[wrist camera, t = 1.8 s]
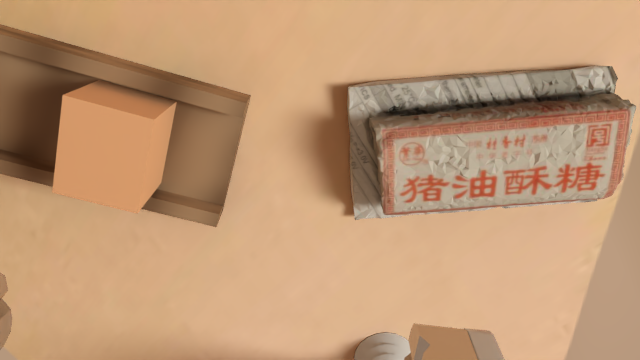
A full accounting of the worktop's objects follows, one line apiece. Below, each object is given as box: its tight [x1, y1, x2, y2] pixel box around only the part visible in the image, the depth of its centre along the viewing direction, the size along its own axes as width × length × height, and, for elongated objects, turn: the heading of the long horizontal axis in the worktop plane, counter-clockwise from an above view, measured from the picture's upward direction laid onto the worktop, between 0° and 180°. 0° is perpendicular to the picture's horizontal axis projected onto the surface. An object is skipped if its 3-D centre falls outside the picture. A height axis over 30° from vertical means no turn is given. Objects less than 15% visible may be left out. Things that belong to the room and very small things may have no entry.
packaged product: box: [347, 66, 636, 220], centre depth 32 cm, size 18×5×10 cm
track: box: [0, 25, 251, 227], centre depth 31 cm, size 26×9×2 cm, turn 74°
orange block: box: [52, 80, 177, 213], centre depth 30 cm, size 5×6×5 cm
